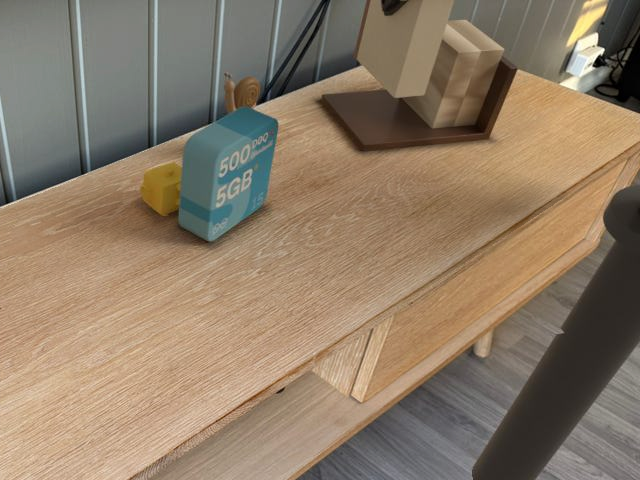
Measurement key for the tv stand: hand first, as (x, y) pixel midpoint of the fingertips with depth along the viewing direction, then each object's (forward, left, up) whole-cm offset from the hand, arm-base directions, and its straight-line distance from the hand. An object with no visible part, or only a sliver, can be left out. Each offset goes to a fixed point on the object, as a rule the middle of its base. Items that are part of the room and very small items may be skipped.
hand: (404, 5), depth 73 cm
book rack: (-17, -18, -24) cm, 34 cm away
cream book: (0, 0, -7) cm, 7 cm away
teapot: (+23, -2, -24) cm, 33 cm away
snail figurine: (+11, -13, -24) cm, 30 cm away
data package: (+17, +1, -24) cm, 29 cm away
